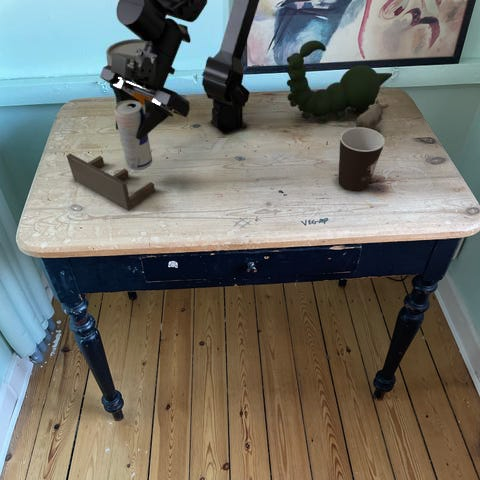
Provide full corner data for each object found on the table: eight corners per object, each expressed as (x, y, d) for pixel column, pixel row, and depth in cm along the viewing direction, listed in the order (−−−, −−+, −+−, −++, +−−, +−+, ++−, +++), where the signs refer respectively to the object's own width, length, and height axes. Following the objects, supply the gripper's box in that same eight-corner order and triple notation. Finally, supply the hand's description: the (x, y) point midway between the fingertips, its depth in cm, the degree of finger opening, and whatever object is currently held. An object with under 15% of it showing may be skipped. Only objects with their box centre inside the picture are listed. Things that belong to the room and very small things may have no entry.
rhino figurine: (389, 120, 119) (395, 96, 114) (364, 146, 112) (370, 121, 107) (374, 115, 121) (379, 91, 116) (348, 140, 114) (353, 116, 109)
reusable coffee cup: (142, 96, 128) (132, 34, 116) (179, 110, 123) (172, 47, 111) (107, 116, 121) (93, 53, 109) (145, 132, 116) (134, 67, 105)
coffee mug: (348, 199, 100) (357, 156, 92) (325, 177, 105) (331, 134, 97) (394, 183, 103) (406, 140, 95) (369, 162, 108) (378, 119, 100)
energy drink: (157, 159, 101) (148, 103, 92) (143, 173, 98) (132, 116, 89) (135, 153, 103) (124, 97, 93) (121, 167, 100) (107, 110, 90)
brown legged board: (101, 163, 109) (95, 138, 104) (155, 191, 102) (151, 166, 97) (74, 180, 105) (66, 155, 100) (128, 210, 98) (122, 185, 94)
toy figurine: (293, 136, 118) (394, 117, 119) (292, 54, 103) (407, 33, 104) (284, 116, 124) (380, 98, 125) (282, 36, 109) (391, 16, 110)
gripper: (94, 18, 87) (64, 103, 91) (171, 45, 80) (135, 136, 84) (134, 48, 97) (106, 124, 101) (205, 75, 90) (172, 156, 93)
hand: (127, 134), depth 94 cm, fingers closed on energy drink, 5 cm apart
